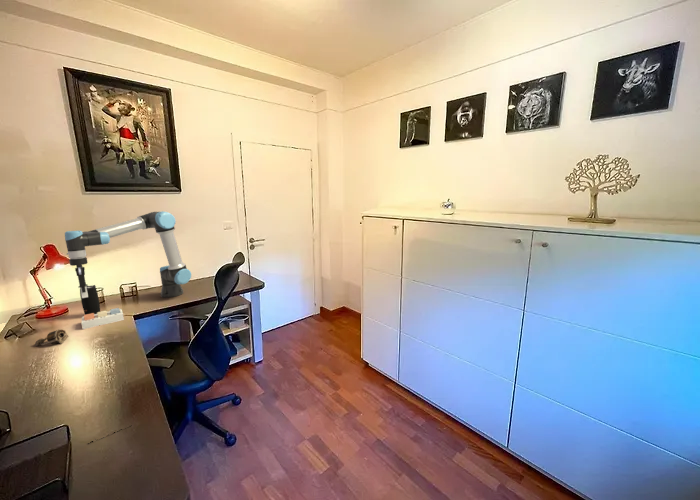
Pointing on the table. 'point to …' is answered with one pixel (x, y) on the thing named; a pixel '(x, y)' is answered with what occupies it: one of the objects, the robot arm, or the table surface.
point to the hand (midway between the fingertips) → (85, 297)
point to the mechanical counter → (53, 338)
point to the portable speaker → (91, 301)
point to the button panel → (102, 320)
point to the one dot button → (114, 311)
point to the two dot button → (102, 313)
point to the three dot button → (89, 316)
